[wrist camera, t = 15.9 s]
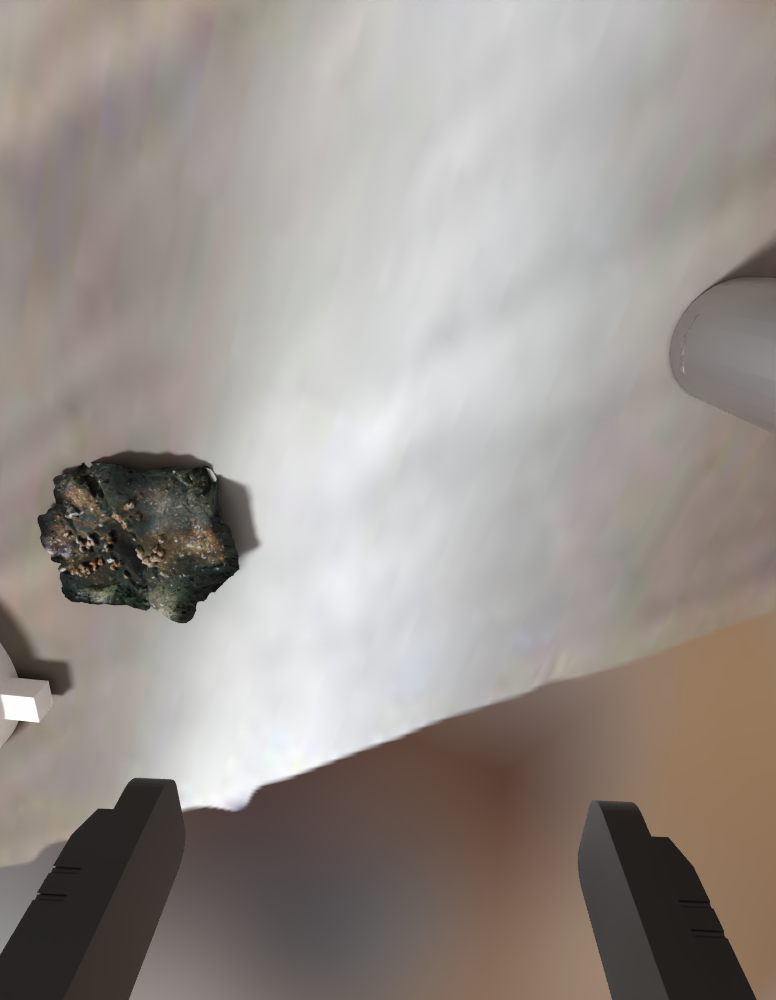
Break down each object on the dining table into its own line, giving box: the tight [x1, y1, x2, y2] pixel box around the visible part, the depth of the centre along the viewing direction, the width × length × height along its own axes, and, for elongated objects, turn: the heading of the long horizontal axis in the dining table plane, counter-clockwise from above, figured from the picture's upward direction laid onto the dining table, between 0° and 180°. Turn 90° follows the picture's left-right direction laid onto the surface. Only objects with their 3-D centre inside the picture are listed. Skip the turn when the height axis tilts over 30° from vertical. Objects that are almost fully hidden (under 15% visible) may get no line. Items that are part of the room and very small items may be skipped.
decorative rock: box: [37, 462, 239, 623], centre depth 48 cm, size 19×6×15 cm
